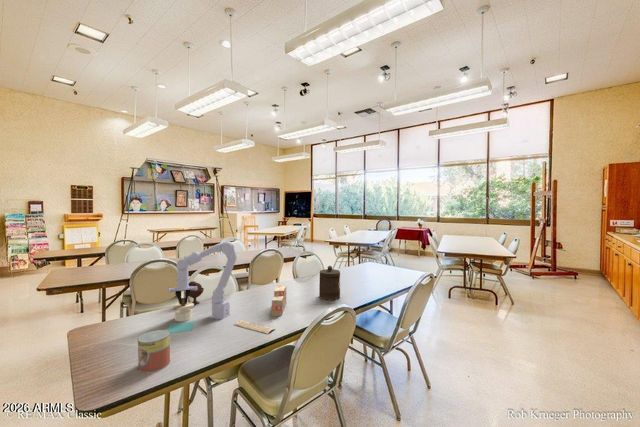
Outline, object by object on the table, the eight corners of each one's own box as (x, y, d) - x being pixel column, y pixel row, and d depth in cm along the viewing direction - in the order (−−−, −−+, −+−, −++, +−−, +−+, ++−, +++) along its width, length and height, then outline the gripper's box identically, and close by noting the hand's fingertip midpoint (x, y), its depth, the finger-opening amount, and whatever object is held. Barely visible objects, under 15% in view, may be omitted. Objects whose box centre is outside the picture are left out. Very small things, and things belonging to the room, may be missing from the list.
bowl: (195, 316, 166) (195, 309, 166) (185, 323, 157) (185, 315, 157) (182, 315, 168) (182, 308, 168) (171, 321, 159) (171, 313, 159)
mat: (194, 322, 158) (194, 321, 158) (191, 331, 146) (191, 330, 146) (170, 325, 154) (170, 324, 154) (165, 334, 143) (165, 333, 143)
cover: (198, 304, 164) (198, 296, 165) (184, 310, 154) (184, 301, 154) (182, 303, 167) (182, 295, 167) (167, 309, 157) (167, 300, 157)
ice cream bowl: (197, 307, 182) (197, 283, 182) (182, 305, 184) (181, 282, 184) (207, 301, 192) (206, 279, 192) (192, 300, 195) (192, 278, 194)
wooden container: (344, 297, 201) (344, 266, 200) (327, 301, 193) (327, 269, 192) (331, 292, 213) (331, 263, 213) (315, 295, 205) (315, 265, 204)
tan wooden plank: (233, 326, 154) (233, 323, 154) (242, 321, 161) (242, 318, 161) (268, 335, 143) (268, 332, 143) (276, 330, 149) (276, 326, 149)
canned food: (131, 369, 113) (130, 339, 112) (156, 355, 123) (156, 328, 123) (152, 375, 109) (151, 344, 108) (176, 360, 119) (176, 332, 119)
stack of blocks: (281, 315, 167) (281, 295, 167) (271, 315, 167) (271, 295, 167) (286, 303, 189) (286, 285, 188) (277, 303, 189) (277, 285, 189)
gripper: (197, 277, 166) (198, 300, 167) (170, 279, 162) (170, 302, 163) (196, 280, 160) (196, 304, 160) (167, 282, 155) (167, 306, 156)
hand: (183, 303), depth 161 cm, fingers closed on cover, 2 cm apart
